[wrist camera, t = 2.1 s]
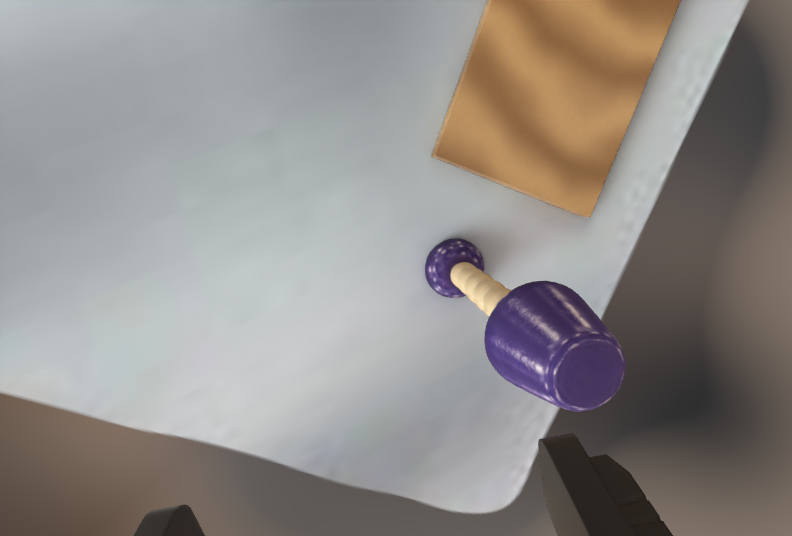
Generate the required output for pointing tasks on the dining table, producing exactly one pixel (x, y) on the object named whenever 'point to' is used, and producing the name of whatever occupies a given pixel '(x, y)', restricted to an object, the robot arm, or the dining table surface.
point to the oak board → (552, 94)
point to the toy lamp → (534, 331)
